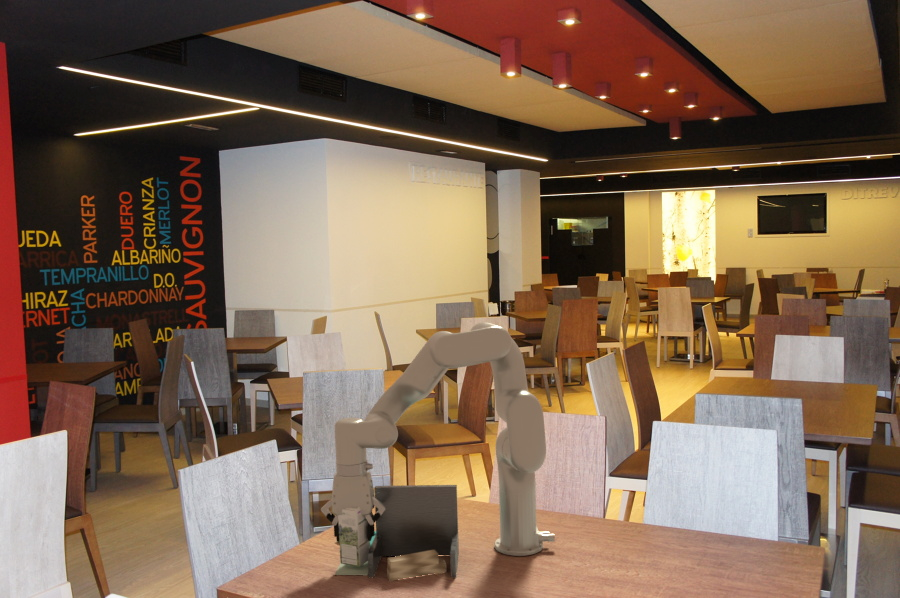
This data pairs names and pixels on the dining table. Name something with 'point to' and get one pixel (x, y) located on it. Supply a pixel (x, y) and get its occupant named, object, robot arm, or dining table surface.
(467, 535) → the dining table surface
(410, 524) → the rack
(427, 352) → the robot arm
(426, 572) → the offcut stack
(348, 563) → the syrup box
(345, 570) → the mat
